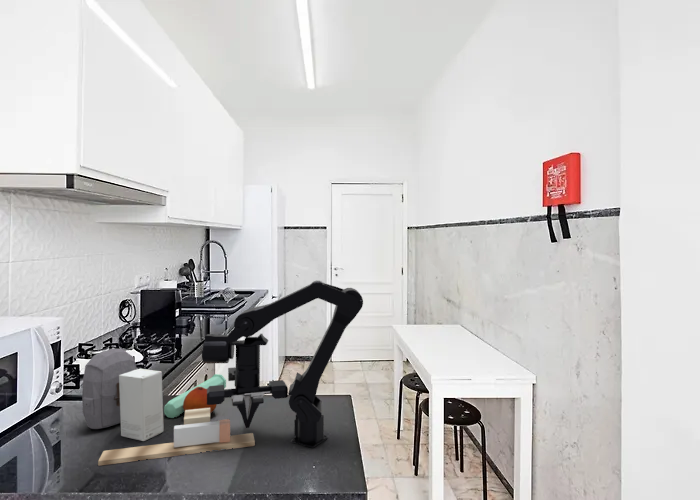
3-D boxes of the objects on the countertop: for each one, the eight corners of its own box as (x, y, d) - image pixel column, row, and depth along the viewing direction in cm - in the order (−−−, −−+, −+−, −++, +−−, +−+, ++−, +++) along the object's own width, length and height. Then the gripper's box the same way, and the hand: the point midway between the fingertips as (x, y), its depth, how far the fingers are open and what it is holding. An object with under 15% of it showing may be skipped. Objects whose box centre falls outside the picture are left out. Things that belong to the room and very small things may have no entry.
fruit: (211, 422, 118) (211, 392, 118) (178, 422, 119) (178, 392, 118) (221, 410, 127) (221, 382, 127) (190, 409, 127) (191, 382, 127)
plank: (252, 437, 109) (252, 433, 109) (254, 445, 105) (254, 441, 105) (103, 455, 100) (103, 450, 100) (98, 465, 95) (98, 461, 95)
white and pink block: (229, 436, 107) (229, 418, 107) (230, 441, 104) (230, 423, 104) (174, 442, 103) (174, 424, 103) (173, 448, 100) (173, 430, 100)
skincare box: (164, 432, 112) (164, 371, 112) (142, 443, 106) (142, 378, 106) (140, 426, 115) (140, 367, 115) (118, 436, 109) (118, 373, 109)
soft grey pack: (126, 412, 125) (126, 341, 125) (148, 416, 122) (148, 344, 122) (74, 432, 111) (74, 353, 111) (97, 438, 108) (97, 357, 108)
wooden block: (210, 441, 107) (210, 416, 107) (183, 444, 105) (183, 419, 105) (210, 431, 113) (210, 407, 113) (185, 433, 111) (185, 410, 111)
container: (173, 398, 120) (222, 371, 144) (156, 404, 121) (208, 376, 146) (181, 418, 119) (229, 388, 144) (163, 424, 121) (214, 393, 145)
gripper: (281, 352, 117) (280, 411, 117) (207, 357, 111) (206, 418, 112) (288, 363, 106) (287, 427, 107) (207, 369, 101) (206, 437, 101)
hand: (247, 427), depth 107 cm, fingers closed
